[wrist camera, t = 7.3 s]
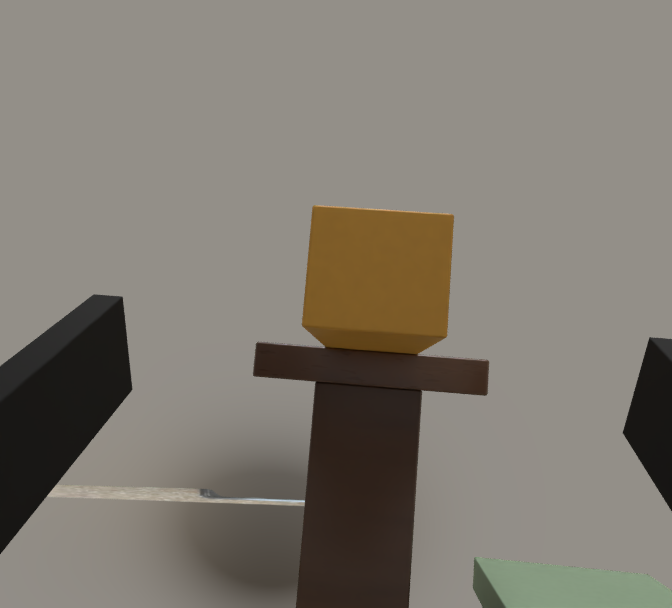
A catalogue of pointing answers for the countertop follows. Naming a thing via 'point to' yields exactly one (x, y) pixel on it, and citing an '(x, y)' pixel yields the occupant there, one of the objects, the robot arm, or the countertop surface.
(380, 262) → the box
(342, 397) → the walnut stand
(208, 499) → the countertop surface
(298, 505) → the countertop surface
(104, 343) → the robot arm
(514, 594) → the green lidded bin
